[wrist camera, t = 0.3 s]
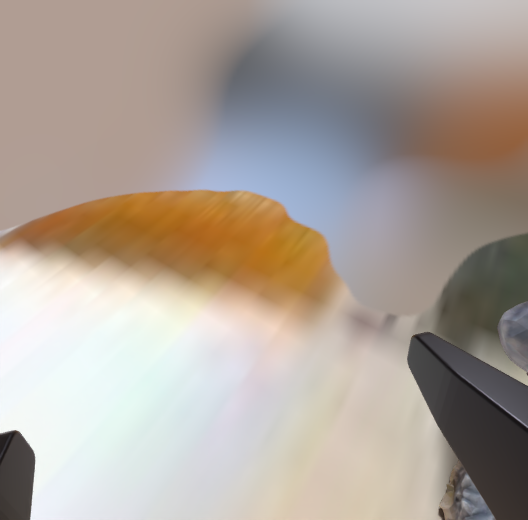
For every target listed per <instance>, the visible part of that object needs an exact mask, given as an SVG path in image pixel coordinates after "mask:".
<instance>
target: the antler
mask: <svg viewBox="0 0 528 520" xmlns="http://www.w3.org/2000/svg"><path fill="white" fill-rule="evenodd" d="M497 328H498V333H499V337H500V342H501V344H502V347H503V349H504V351H505V353H506V354H507V356H508V357H509V358H510V360H511V361H513V362H514V363H515V364H516V365H517V366H519V367H520V368H522V369H523V370H525V371H526V372H527V375H528V302H525V303H522V304H519V305H517V306H515V307H513V308H511V309H510V310H508V311H507V312H505V313H504V314H503V316H502V318H501V320H500V322H499V324H498V326H497ZM439 507H440V508H442V509H443V512H444V517H445V520H496V519H495V518H494V516H493V514H492V513H491V511H490V509H489V508H488V506H487V505H486V503H485V501H484V500H483V498H482V496H481V495H480V493H479V492H478V490H477V488H476V487H475V485H474V484H473V482H472V480H471V479H470V477H469V475H468V474H467V472H466V471H465V469H464V467H463V466H462V464H461V463H460V461H459V460H458V463H457V465H455V466H454V468H453V470H452V472H451V476H450V483H449V484H447V491H446V494H445V495H444V497H443V499H442V500H441V502H440V504H439Z"/></svg>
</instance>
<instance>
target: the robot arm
mask: <svg viewBox="0 0 528 520" xmlns="http://www.w3.org/2000/svg"><path fill="white" fill-rule="evenodd" d="M407 360H408V365H409V368H410V370H411V372H412V374H413V376H414V378H415V380H416V382H417V384H418V386H419V388H420V391H421V393H422V395H423V397H424V399H425V401H426V403H427V405H428V407H429V409H430V411H431V413H432V415H433V417H434V419H435V421H436V423H437V425H438V427H439V428H440V430H441V432H442V433H443V435H444V437H445V438H446V440H447V441H448V443H449V445H450V446H451V448H452V450H453V451H454V453H455V454H456V456H457V458H458V459H459V461H460V463H461V464H462V466H463V467H464V469H465V471H466V472H467V474H468V475H469V477H470V479H471V480H472V482H473V484H474V485H475V487H476V488H477V490H478V492H479V493H480V495H481V496H482V498H483V500H484V501H485V503H486V505H487V506H488V508H489V509H490V511H491V513H492V514H493V516H494V518H495V519H496V520H528V386H527V385H525V384H523V383H521V382H519V381H518V380H516V379H514V378H512V377H510V376H509V375H507V374H505V373H503V372H501V371H499V370H498V369H496V368H494V367H492V366H490V365H489V364H487V363H485V362H483V361H481V360H480V359H478V358H476V357H474V356H472V355H471V354H469V353H467V352H465V351H463V350H461V349H460V348H458V347H456V346H454V345H452V344H451V343H449V342H447V341H445V340H443V339H442V338H440V337H438V336H436V335H434V334H432V333H430V332H424V333H419V334H415V335H413V336H412V338H411V341H410V346H409V352H408V357H407ZM34 471H35V454H34V451H33V449H32V448H31V447H30V445H29V444H28V443H27V441H26V440H25V438H24V437H23V436H22V434H21V433H20V432H19V431H16V430H13V431H9V432H5V433H0V520H30V516H31V505H32V493H33V482H34Z"/></svg>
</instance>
